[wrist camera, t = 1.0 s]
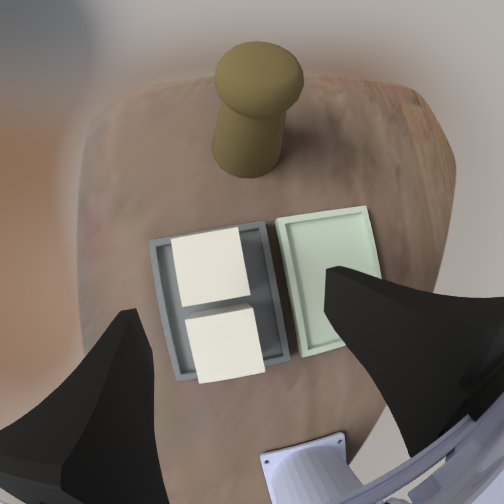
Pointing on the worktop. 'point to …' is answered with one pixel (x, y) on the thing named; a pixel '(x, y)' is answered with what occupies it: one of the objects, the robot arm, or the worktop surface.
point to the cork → (254, 106)
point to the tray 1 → (260, 299)
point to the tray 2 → (322, 266)
